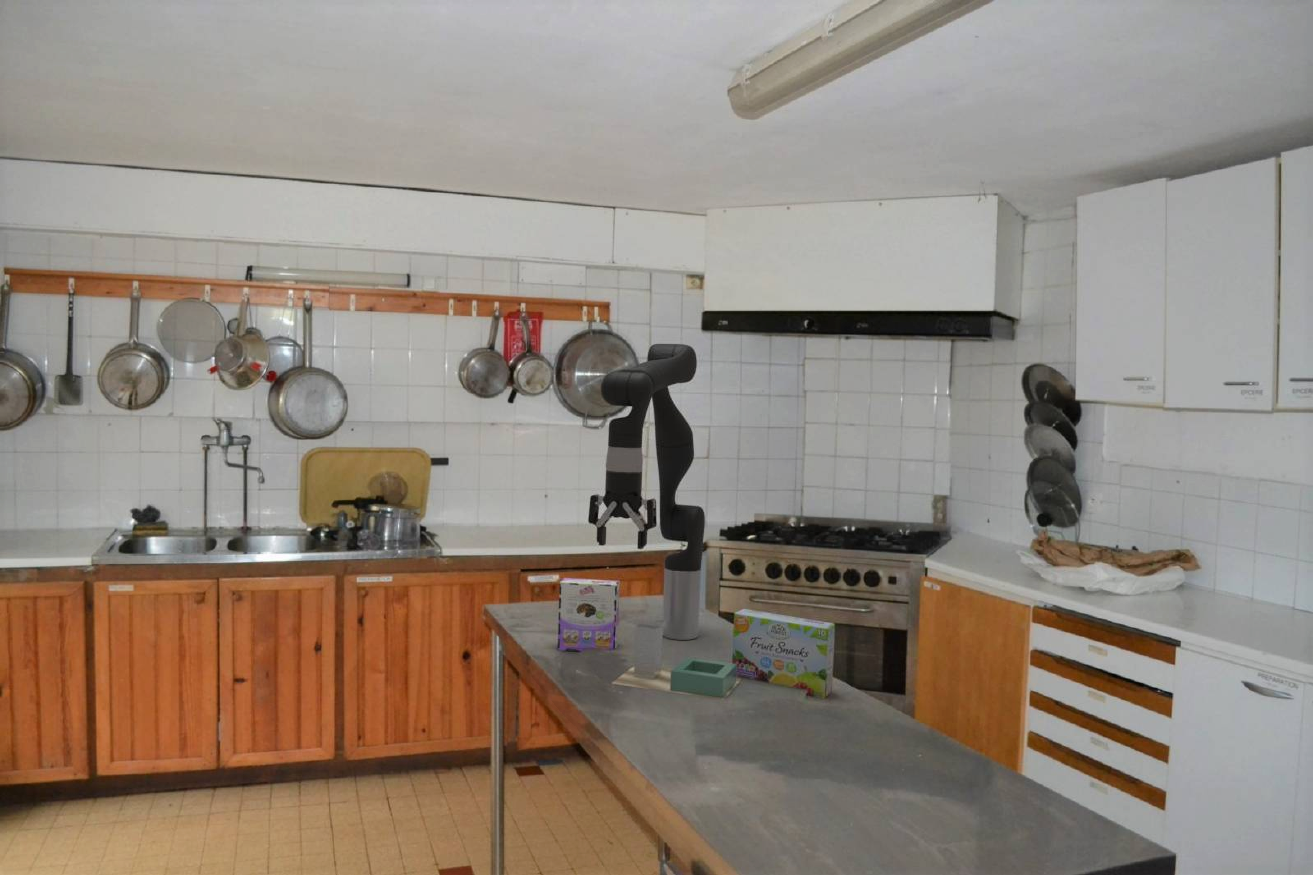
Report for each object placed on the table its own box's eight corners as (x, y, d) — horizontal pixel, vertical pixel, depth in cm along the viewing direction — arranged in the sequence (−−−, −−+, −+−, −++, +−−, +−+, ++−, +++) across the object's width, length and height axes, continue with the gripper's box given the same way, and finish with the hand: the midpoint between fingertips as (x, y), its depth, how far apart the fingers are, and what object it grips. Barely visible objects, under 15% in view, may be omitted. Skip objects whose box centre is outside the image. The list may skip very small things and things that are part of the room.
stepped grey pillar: (637, 670, 208) (639, 615, 208) (665, 674, 206) (667, 619, 206) (629, 676, 204) (632, 620, 203) (658, 680, 202) (660, 623, 201)
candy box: (618, 648, 230) (620, 579, 229) (614, 654, 224) (617, 584, 224) (561, 644, 232) (563, 576, 231) (556, 650, 226) (558, 581, 225)
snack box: (729, 681, 207) (732, 612, 207) (740, 675, 212) (743, 607, 212) (824, 699, 198) (828, 627, 197) (833, 692, 203) (836, 621, 202)
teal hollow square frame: (686, 675, 206) (686, 657, 206) (736, 682, 202) (736, 663, 202) (670, 690, 196) (670, 671, 195) (722, 698, 192) (723, 678, 192)
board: (635, 669, 213) (636, 664, 213) (741, 684, 205) (741, 679, 205) (610, 689, 199) (611, 683, 199) (723, 705, 191) (723, 699, 191)
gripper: (662, 469, 200) (659, 547, 201) (599, 465, 205) (596, 541, 205) (650, 472, 193) (647, 552, 194) (585, 467, 197) (582, 546, 198)
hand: (621, 546), depth 200 cm, fingers open, 8 cm apart
